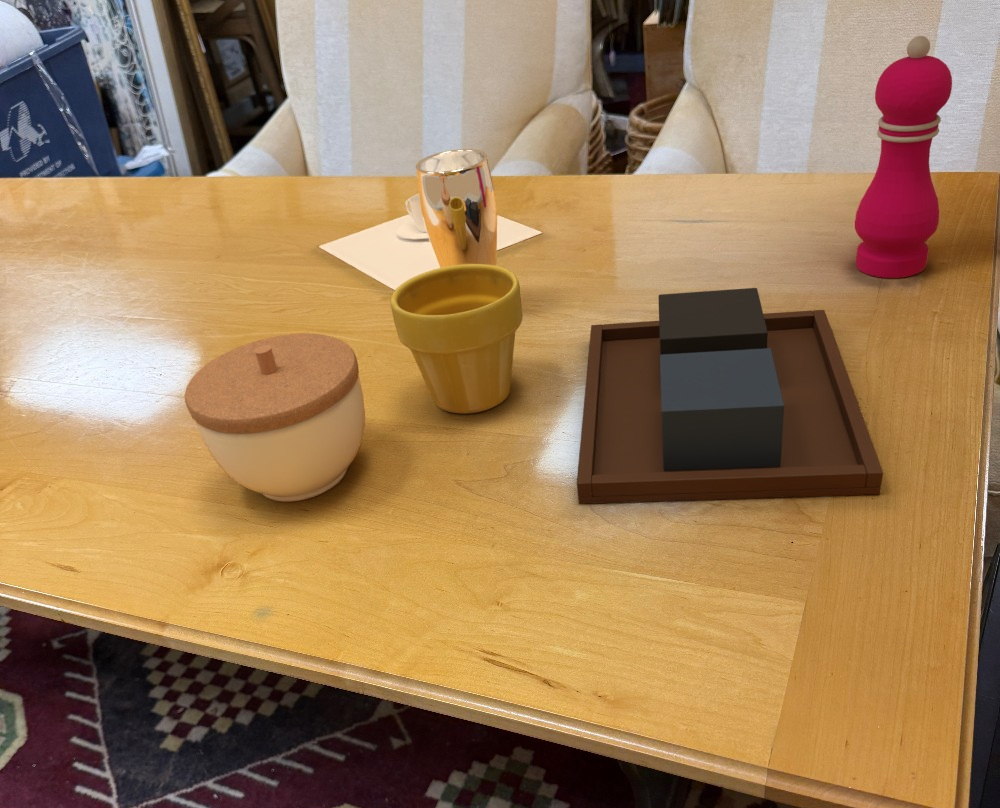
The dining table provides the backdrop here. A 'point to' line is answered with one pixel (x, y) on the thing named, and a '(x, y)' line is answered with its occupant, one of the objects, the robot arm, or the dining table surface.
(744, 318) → the pad
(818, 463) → the brown square tray
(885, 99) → the pepper mill
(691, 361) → the pad
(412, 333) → the flower pot
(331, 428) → the lidded bowl
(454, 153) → the shiny metal vase
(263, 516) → the dining table surface
